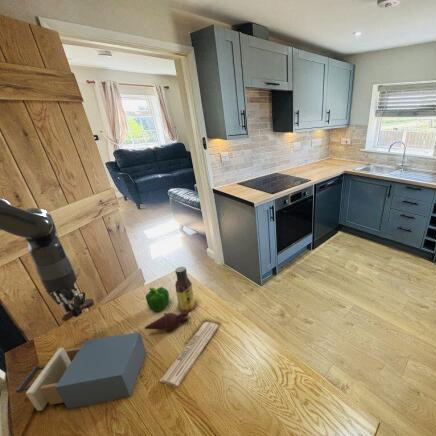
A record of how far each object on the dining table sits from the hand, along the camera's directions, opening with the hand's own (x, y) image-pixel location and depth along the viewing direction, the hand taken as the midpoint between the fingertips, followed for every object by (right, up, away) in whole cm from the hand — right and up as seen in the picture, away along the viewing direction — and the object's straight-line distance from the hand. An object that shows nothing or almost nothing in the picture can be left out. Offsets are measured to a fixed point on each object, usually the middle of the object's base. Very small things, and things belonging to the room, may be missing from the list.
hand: (75, 314), depth 80 cm
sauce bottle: (+28, -7, +24) cm, 37 cm away
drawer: (+5, -18, -7) cm, 20 cm away
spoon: (0, 0, +2) cm, 2 cm away
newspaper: (+38, -15, +5) cm, 41 cm away
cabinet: (+15, -18, -4) cm, 24 cm away
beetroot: (+25, -11, +13) cm, 30 cm away
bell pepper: (+16, -7, +24) cm, 29 cm away
